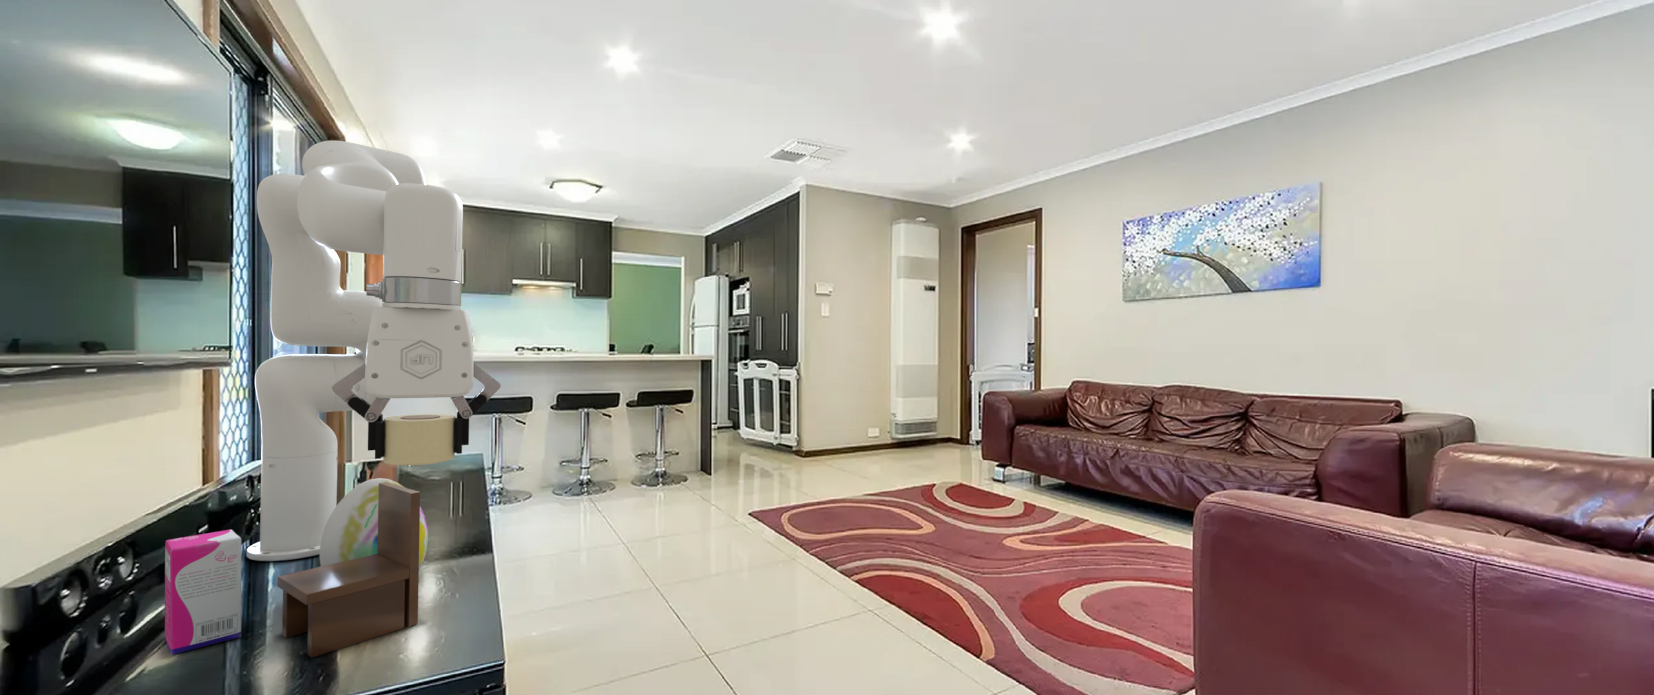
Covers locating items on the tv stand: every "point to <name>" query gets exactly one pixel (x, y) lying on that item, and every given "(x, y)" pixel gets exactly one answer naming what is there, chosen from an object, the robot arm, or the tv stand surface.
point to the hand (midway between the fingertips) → (420, 453)
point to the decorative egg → (359, 526)
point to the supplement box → (202, 590)
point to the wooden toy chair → (360, 583)
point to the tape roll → (419, 439)
